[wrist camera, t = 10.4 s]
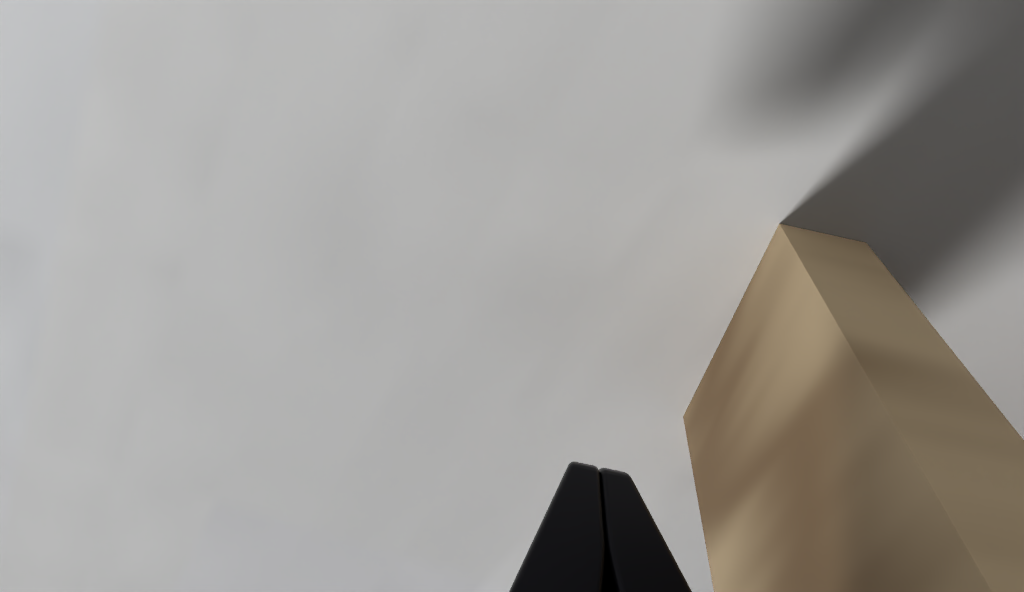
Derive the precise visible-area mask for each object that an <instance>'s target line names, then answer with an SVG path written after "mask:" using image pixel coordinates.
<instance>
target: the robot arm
mask: <svg viewBox="0 0 1024 592" xmlns="http://www.w3.org/2000/svg"><path fill="white" fill-rule="evenodd" d="M509 592H692V591H691V589H690V588H689V586H688V584H687V582H686V580H685V578H684V576H683V574H682V572H681V571H680V569H679V567H678V565H677V563H676V561H675V559H674V557H673V556H672V554H671V552H670V550H669V548H668V546H667V544H666V542H665V541H664V539H663V537H662V535H661V533H660V531H659V529H658V527H657V525H656V524H655V522H654V520H653V518H652V516H651V514H650V512H649V510H648V509H647V507H646V505H645V503H644V501H643V499H642V497H641V495H640V493H639V492H638V490H637V488H636V486H635V484H634V482H633V480H632V479H631V477H630V476H629V475H628V474H627V473H625V472H621V471H617V470H612V469H607V468H601V469H600V470H598V468H597V467H596V466H593V465H588V464H583V463H579V462H571V463H570V464H569V465H568V467H567V469H566V472H565V474H564V476H563V478H562V480H561V482H560V484H559V487H558V489H557V491H556V493H555V495H554V497H553V499H552V501H551V504H550V506H549V508H548V510H547V512H546V514H545V516H544V519H543V521H542V523H541V525H540V527H539V529H538V531H537V534H536V536H535V538H534V540H533V542H532V544H531V546H530V548H529V551H528V553H527V555H526V557H525V559H524V561H523V563H522V566H521V568H520V570H519V572H518V574H517V576H516V578H515V581H514V583H513V585H512V587H511V589H510V591H509Z"/></svg>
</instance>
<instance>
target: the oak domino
mask: <svg viewBox="0 0 1024 592" xmlns="http://www.w3.org/2000/svg"><path fill="white" fill-rule="evenodd" d="M683 418H684V424H685V429H686V435H687V441H688V446H689V452H690V458H691V463H692V469H693V475H694V480H695V486H696V492H697V497H698V503H699V509H700V514H701V520H702V526H703V531H704V537H705V543H706V549H707V554H708V560H709V566H710V571H711V577H712V583H713V588H714V592H1024V440H1023V439H1022V438H1021V436H1020V435H1019V434H1018V433H1017V431H1016V430H1015V429H1014V428H1013V426H1012V425H1011V424H1010V423H1009V421H1008V420H1007V419H1006V418H1005V416H1004V415H1003V414H1002V413H1001V411H1000V410H999V409H998V408H997V406H996V405H995V404H994V403H993V401H992V400H991V399H990V398H989V396H988V395H987V394H986V392H985V391H984V390H983V389H982V387H981V386H980V385H979V384H978V382H977V381H976V380H975V379H974V377H973V376H972V375H971V374H970V372H969V371H968V370H967V369H966V367H965V366H964V365H963V364H962V362H961V361H960V360H959V359H958V357H957V356H956V355H955V354H954V352H953V351H952V350H951V349H950V347H949V346H948V345H947V344H946V342H945V341H944V340H943V339H942V337H941V336H940V335H939V334H938V332H937V331H936V330H935V328H934V327H933V326H932V325H931V323H930V322H929V321H928V320H927V318H926V317H925V316H924V315H923V313H922V312H921V311H920V310H919V308H918V307H917V306H916V305H915V303H914V302H913V301H912V300H911V298H910V297H909V296H908V295H907V293H906V292H905V291H904V290H903V288H902V287H901V286H900V285H899V283H898V282H897V281H896V280H895V278H894V277H893V276H892V275H891V273H890V272H889V271H888V270H887V268H886V267H885V266H884V265H883V263H882V262H881V261H880V259H879V258H878V257H877V256H876V254H875V253H874V252H873V251H872V249H871V248H870V247H869V246H868V244H867V243H865V242H861V241H856V240H851V239H847V238H842V237H838V236H833V235H829V234H824V233H820V232H815V231H811V230H806V229H802V228H797V227H793V226H788V225H784V224H779V226H778V228H777V230H776V232H775V234H774V236H773V238H772V240H771V242H770V244H769V246H768V248H767V250H766V252H765V254H764V256H763V258H762V260H761V262H760V264H759V266H758V268H757V270H756V272H755V274H754V276H753V278H752V280H751V282H750V284H749V286H748V288H747V290H746V292H745V294H744V296H743V298H742V300H741V302H740V304H739V306H738V308H737V310H736V312H735V314H734V316H733V318H732V320H731V322H730V324H729V326H728V328H727V330H726V332H725V334H724V336H723V338H722V340H721V342H720V344H719V346H718V348H717V350H716V352H715V354H714V356H713V358H712V360H711V362H710V364H709V366H708V368H707V370H706V372H705V374H704V376H703V378H702V380H701V382H700V384H699V386H698V388H697V390H696V392H695V394H694V396H693V398H692V400H691V402H690V404H689V406H688V408H687V410H686V412H685V414H684V416H683Z"/></svg>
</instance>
